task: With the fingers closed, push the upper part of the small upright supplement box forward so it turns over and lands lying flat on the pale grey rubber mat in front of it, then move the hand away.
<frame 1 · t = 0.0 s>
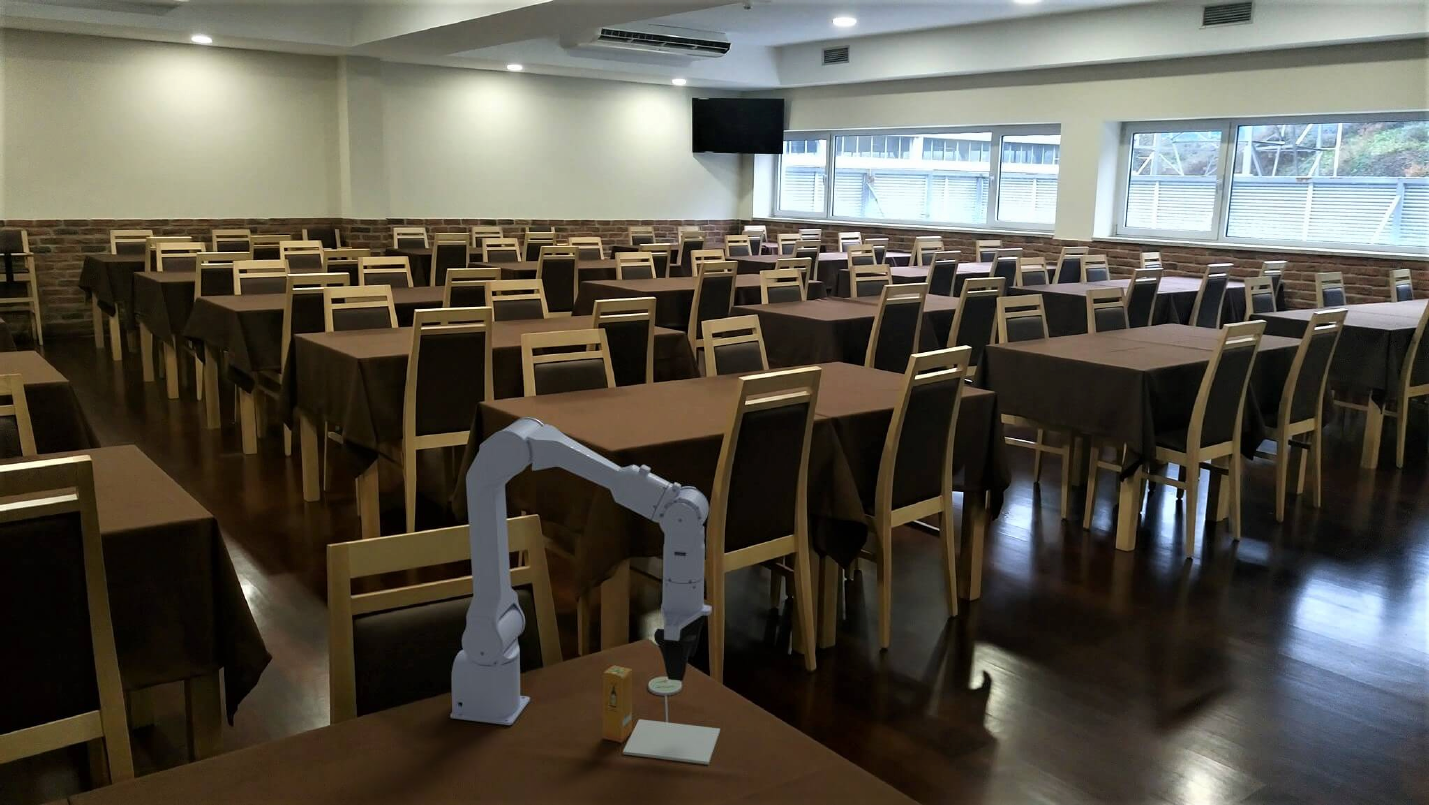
hand: (681, 666, 147), 10 cm above the table, tool pointing down, fingers open, 7 cm apart
mat: (672, 742, 147), on the table
supplement box: (617, 737, 148), on the table
sign: (665, 706, 158), on the table
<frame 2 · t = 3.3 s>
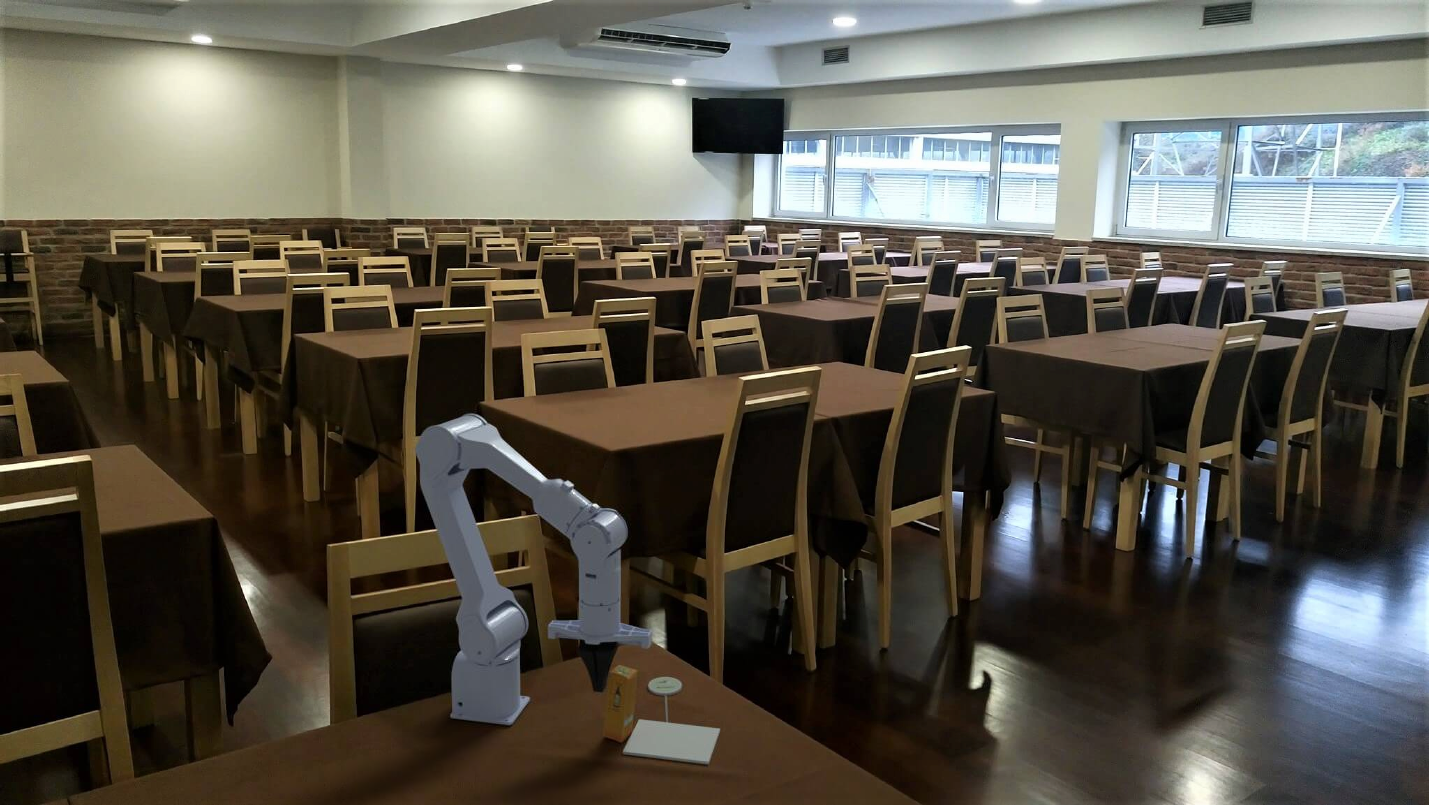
hand: (599, 688, 147), 7 cm above the table, tool pointing down, fingers closed
supplement box: (617, 736, 148), on the table, touching gripper
everything else where it was.
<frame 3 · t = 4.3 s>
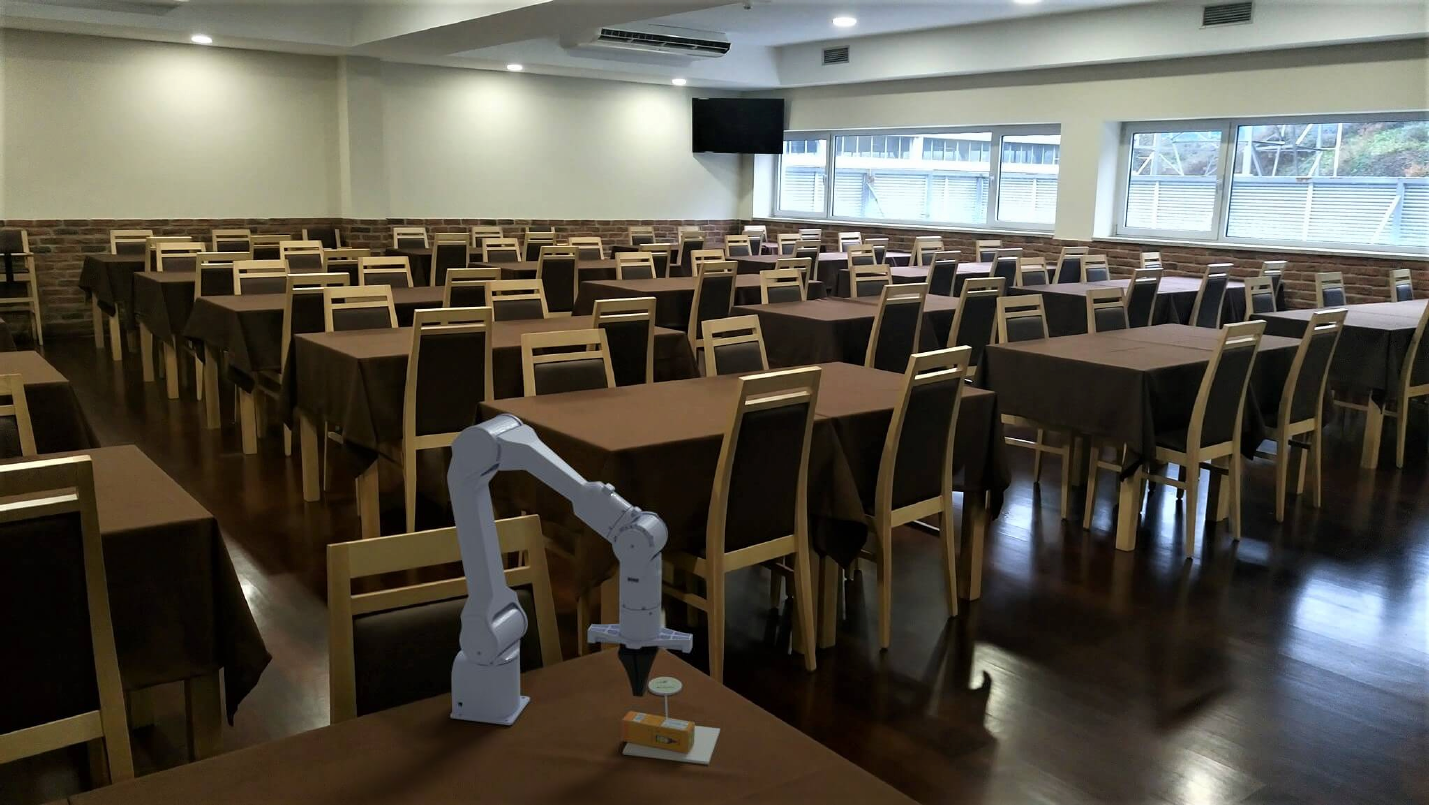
hand: (639, 693, 146), 7 cm above the table, tool pointing down, fingers closed
supplement box: (624, 724, 147), point 2 cm above the table, touching mat
everything else where it was.
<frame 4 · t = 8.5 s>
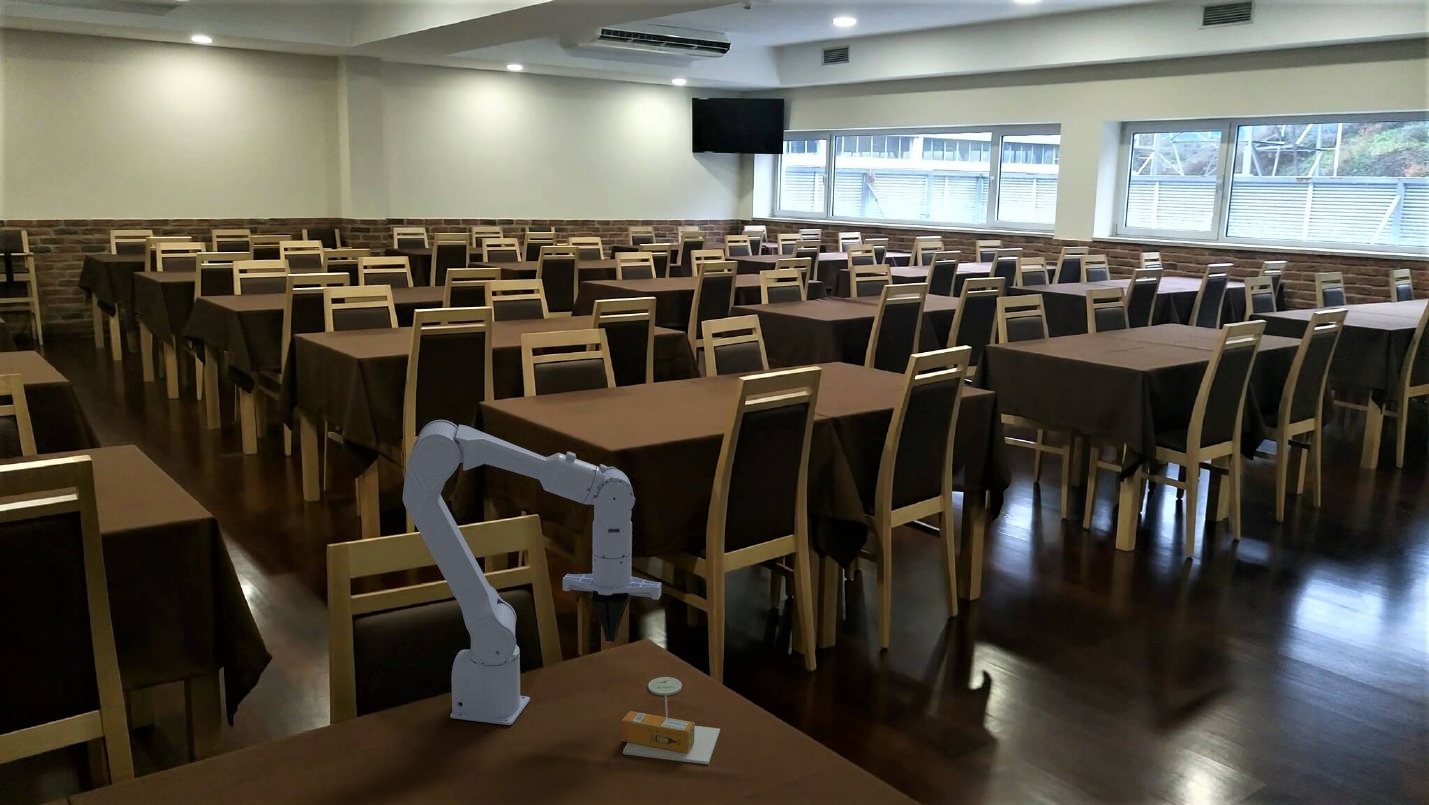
hand: (611, 638, 155), 10 cm above the table, tool pointing down, fingers closed
nothing on the table moved.
at the end: supplement box tilted 90°; supplement box inside the target area (6.5 cm from its centre), point 2.0 cm above the table; the gripper is holding nothing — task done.
